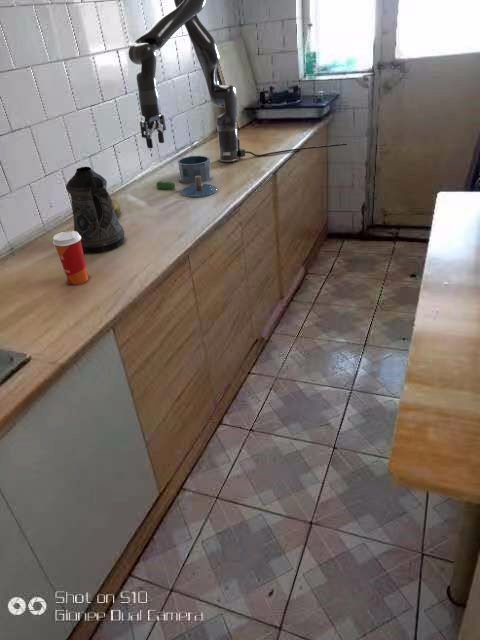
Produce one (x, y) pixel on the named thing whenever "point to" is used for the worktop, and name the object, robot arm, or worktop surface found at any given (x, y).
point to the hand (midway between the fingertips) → (156, 145)
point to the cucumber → (165, 185)
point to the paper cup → (71, 256)
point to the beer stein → (94, 212)
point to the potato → (116, 207)
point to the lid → (199, 189)
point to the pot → (194, 168)
